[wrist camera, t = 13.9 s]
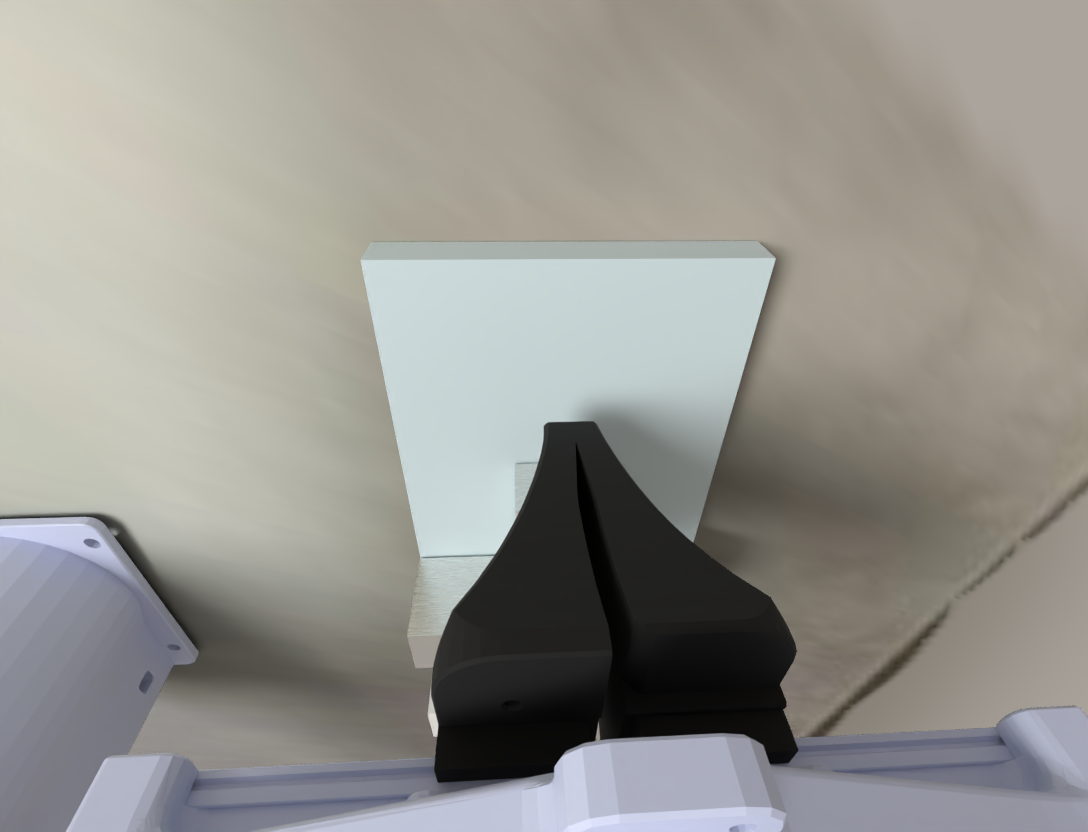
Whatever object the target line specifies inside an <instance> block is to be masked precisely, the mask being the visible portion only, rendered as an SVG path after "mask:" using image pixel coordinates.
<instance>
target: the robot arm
mask: <svg viewBox="0 0 1088 832" xmlns="http://www.w3.org/2000/svg"><path fill="white" fill-rule="evenodd" d="M796 652H797V650H796V645H795V642H794V640H793V637H792V635H791V633H790V631H789V628H788V626H787V624H786V623H785V621H784V619H783V617H782V616H781V614H780V612H779V611H778V609H777V607H776V606H775V604H774V602H773V601H772V599H771V597H769V596H768V595H766V594H765V593H763V592H761V591H760V590H758V589H757V588H755V587H753V586H752V585H750V584H749V583H747V582H746V581H744V580H742V579H741V578H739V577H738V576H736V575H735V574H733V573H732V572H730V571H729V570H727V569H726V568H725V567H723V566H722V565H721V564H719V563H718V562H716V561H715V560H714V559H712V558H711V557H710V556H709V555H707V554H706V553H705V552H704V551H703V550H701V549H700V548H699V547H698V546H697V545H695V544H694V543H693V542H692V541H691V540H689V539H688V538H687V537H686V536H685V535H684V534H683V533H682V532H680V531H679V530H678V529H677V528H676V527H675V526H674V525H673V524H672V523H671V522H670V521H669V520H668V519H667V518H666V517H665V516H664V515H663V514H662V513H661V512H660V511H659V510H658V509H657V508H656V507H655V505H654V504H653V503H652V502H651V501H650V500H649V499H648V497H647V496H646V495H645V494H644V493H643V491H642V490H641V489H640V488H639V487H638V485H637V484H636V483H635V482H634V480H633V479H632V478H631V476H630V475H629V474H628V472H627V471H626V470H625V468H624V467H623V465H622V464H621V463H620V461H619V460H618V458H617V457H616V455H615V454H614V452H613V451H612V449H611V448H610V446H609V445H608V443H607V441H606V440H605V438H604V436H603V435H602V433H601V431H600V429H599V427H598V425H597V424H596V423H595V422H594V421H577V422H548V423H546V424H545V425H544V435H543V445H542V450H541V454H540V458H539V462H538V465H537V468H536V471H535V475H534V478H533V480H532V483H531V485H530V488H529V490H528V493H527V495H526V498H525V500H524V503H523V505H522V507H521V509H520V511H519V513H518V515H517V517H516V519H515V521H514V523H513V525H512V527H511V529H510V530H509V532H508V534H507V536H506V537H505V539H504V541H503V543H502V544H501V546H500V548H499V549H498V551H497V552H496V554H495V555H494V557H493V558H492V560H491V561H490V563H489V564H488V565H487V567H486V568H485V570H484V571H483V572H482V574H481V575H480V577H479V578H478V579H477V581H476V582H475V583H474V585H473V586H472V587H471V588H470V589H469V591H468V592H467V593H466V594H465V595H464V597H463V598H462V599H461V600H460V601H459V603H458V604H457V605H456V606H455V607H454V609H453V610H452V612H451V615H450V617H449V619H448V622H447V624H446V626H445V629H444V631H443V634H442V637H441V639H440V642H439V645H438V648H437V652H436V656H435V660H434V665H433V673H432V684H431V697H432V701H433V705H434V709H435V713H436V717H437V721H438V734H437V745H436V755H435V757H434V758H415V759H397V760H378V761H359V762H341V763H322V764H304V765H285V766H266V767H248V768H229V769H210V770H197V769H196V767H195V765H194V764H193V762H192V761H191V760H190V759H189V758H187V757H185V756H183V755H179V754H175V753H152V754H133V755H128V753H129V751H130V749H131V747H132V745H133V743H134V742H135V740H136V738H137V736H138V734H139V732H140V730H141V728H142V726H143V724H144V722H145V720H146V718H147V716H148V714H149V712H150V710H151V708H152V706H153V704H154V702H155V700H156V698H157V696H158V695H159V693H160V691H161V689H162V687H163V685H164V683H165V681H166V679H167V677H168V675H169V673H170V671H171V669H172V667H173V665H185V664H191V663H193V662H195V660H196V658H197V656H198V654H199V653H198V650H197V649H196V648H195V646H194V645H193V644H192V642H191V641H190V639H189V638H188V637H187V635H186V634H185V633H184V631H183V630H182V629H181V627H180V626H179V624H178V623H177V622H176V620H175V619H174V618H173V616H172V615H171V614H170V612H169V611H168V609H167V608H166V607H165V605H164V604H163V603H162V601H161V600H160V599H159V597H158V596H157V595H156V593H155V592H154V590H153V589H152V588H151V586H150V585H149V584H148V582H147V581H146V580H145V578H144V577H143V575H142V574H141V573H140V571H139V570H138V569H137V567H136V566H135V565H134V563H133V562H132V560H131V559H130V558H129V556H128V555H127V554H126V552H125V551H124V550H123V548H122V547H121V546H120V544H119V543H118V541H117V540H116V539H115V537H114V536H113V535H112V533H111V532H110V531H109V529H108V528H107V526H106V525H105V524H104V523H103V522H101V521H100V520H98V519H95V518H92V517H61V518H26V519H0V832H1088V716H1087V715H1086V714H1085V713H1084V711H1083V710H1082V709H1081V708H1080V707H1077V706H1057V707H1037V708H1026V709H1020V710H1017V711H1014V712H1012V713H1010V714H1008V715H1006V716H1005V717H1004V718H1003V719H1001V720H1000V721H999V723H998V724H997V726H996V727H992V728H974V729H955V730H937V731H919V732H901V733H881V734H862V735H843V736H825V737H806V738H794V737H793V734H792V732H791V729H790V726H789V724H788V721H787V719H786V716H785V714H784V711H783V709H785V707H786V699H785V697H784V694H783V692H782V689H781V687H780V683H781V681H782V680H783V678H784V676H785V675H786V673H787V671H788V669H789V668H790V666H791V664H792V663H793V661H794V658H795V655H796ZM598 722H599V732H600V741H595V739H596V734H597V728H598Z"/></svg>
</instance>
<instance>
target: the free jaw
mask: <svg viewBox="0 0 1088 832" xmlns="http://www.w3.org/2000/svg"><path fill="white" fill-rule="evenodd" d="M537 465H538V463H534V464H515V518H516V517H517V515H518V513H519V511H520V509H521V507H522V505H523V503H524V500H525V498H526V495H527V493H528V490H529V488H530V485H531V483H532V480H533V478H534V475H535V471H536V468H537ZM493 557H494V556H475V557H445V558H420V560H419V567H418V573H417V579H416V585H415V591H414V597H413V603H412V610H411V616H410V622H409V628H408V634H407V638H408V642H409V645H410V649H411V653H412V657H413V661H414V664H415V668H433V665H434V660H435V656H436V652H437V648H438V645H439V642H440V639H441V637H442V634H443V631H444V629H445V626H446V624H447V622H448V619H449V617H450V615H451V612H452V610H453V609H454V607H455V606H456V605H457V604H458V603H459V601H460V600H461V599H462V598H463V597H464V595H465V594H466V593H467V592H468V591H469V589H470V588H471V587H472V586H473V585H474V583H475V582H476V581H477V579H478V578H479V577H480V575H481V574H482V572H483V571H484V570H485V568H486V567H487V565H488V564H489V563H490V561H491V560H492V558H493Z"/></svg>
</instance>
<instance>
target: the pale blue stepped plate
mask: <svg viewBox="0 0 1088 832" xmlns="http://www.w3.org/2000/svg"><path fill="white" fill-rule="evenodd" d="M775 260H776V258H775V257H774V256H773V255H772V254H771V253H770V252H769V251H768V250H767V249H766V248H765V247H764V246H762V245H761V244H760V243H759V242H758V241H614V242H371V243H370V245H369V247H368V248H367V250H366V252H365V253H364V255H363V257H362V258H361V265H362V270H363V275H364V280H365V285H366V290H367V295H368V300H369V305H370V310H371V315H372V320H373V325H374V329H375V334H376V339H377V344H378V349H379V354H380V359H381V364H382V369H383V374H384V379H385V384H386V389H387V394H388V399H389V404H390V409H391V414H392V419H393V424H394V429H395V434H396V439H397V444H398V448H399V453H400V458H401V463H402V468H403V473H404V478H405V483H406V488H407V493H408V498H409V503H410V508H411V513H412V518H413V523H414V528H415V533H416V538H417V543H418V548H419V553H420V558H445V557H475V556H494V555H495V554H496V552H497V551H498V549H499V548H500V546H501V544H502V543H503V541H504V539H505V537H506V536H507V534H508V532H509V530H510V529H511V527H512V525H513V523H514V521H515V519H516V518H515V464H534V463H538V462H539V458H540V454H541V450H542V445H543V435H544V425H545V424H546V423H548V422H577V421H594V422H595V423H596V424H597V425H598V427H599V429H600V431H601V433H602V435H603V436H604V438H605V440H606V441H607V443H608V445H609V446H610V448H611V449H612V451H613V452H614V454H615V455H616V457H617V458H618V460H619V461H620V463H621V464H622V465H623V467H624V468H625V470H626V471H627V472H628V474H629V475H630V476H631V478H632V479H633V480H634V482H635V483H636V484H637V485H638V487H639V488H640V489H641V490H642V491H643V493H644V494H645V495H646V496H647V497H648V499H649V500H650V501H651V502H652V503H653V504H654V505H655V507H656V508H657V509H658V510H659V511H660V512H661V513H662V514H663V515H664V516H665V517H666V518H667V519H668V520H669V521H670V522H671V523H672V524H673V525H674V526H675V527H676V528H677V529H678V530H679V531H680V532H682V533H683V534H684V535H685V536H686V537H687V538H688V539H689V540H691V541H692V542H694V539H695V536H696V532H697V529H698V525H699V522H700V518H701V515H702V511H703V508H704V505H705V501H706V498H707V494H708V491H709V487H710V484H711V480H712V477H713V474H714V470H715V467H716V463H717V460H718V456H719V453H720V449H721V446H722V443H723V439H724V436H725V432H726V429H727V425H728V422H729V418H730V415H731V411H732V408H733V405H734V401H735V398H736V394H737V391H738V387H739V384H740V380H741V377H742V374H743V370H744V367H745V363H746V360H747V356H748V353H749V349H750V346H751V343H752V339H753V336H754V332H755V329H756V325H757V322H758V318H759V315H760V311H761V308H762V305H763V301H764V298H765V294H766V291H767V287H768V284H769V280H770V277H771V274H772V270H773V267H774V263H775ZM431 684H432V682H431ZM428 717H429V721H430V725H431V729H432V732H433V736H434V737H437V734H438V721H437V717H436V713H435V709H434V705H433V701H432V697H431V690H430V699H429V708H428Z"/></svg>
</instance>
